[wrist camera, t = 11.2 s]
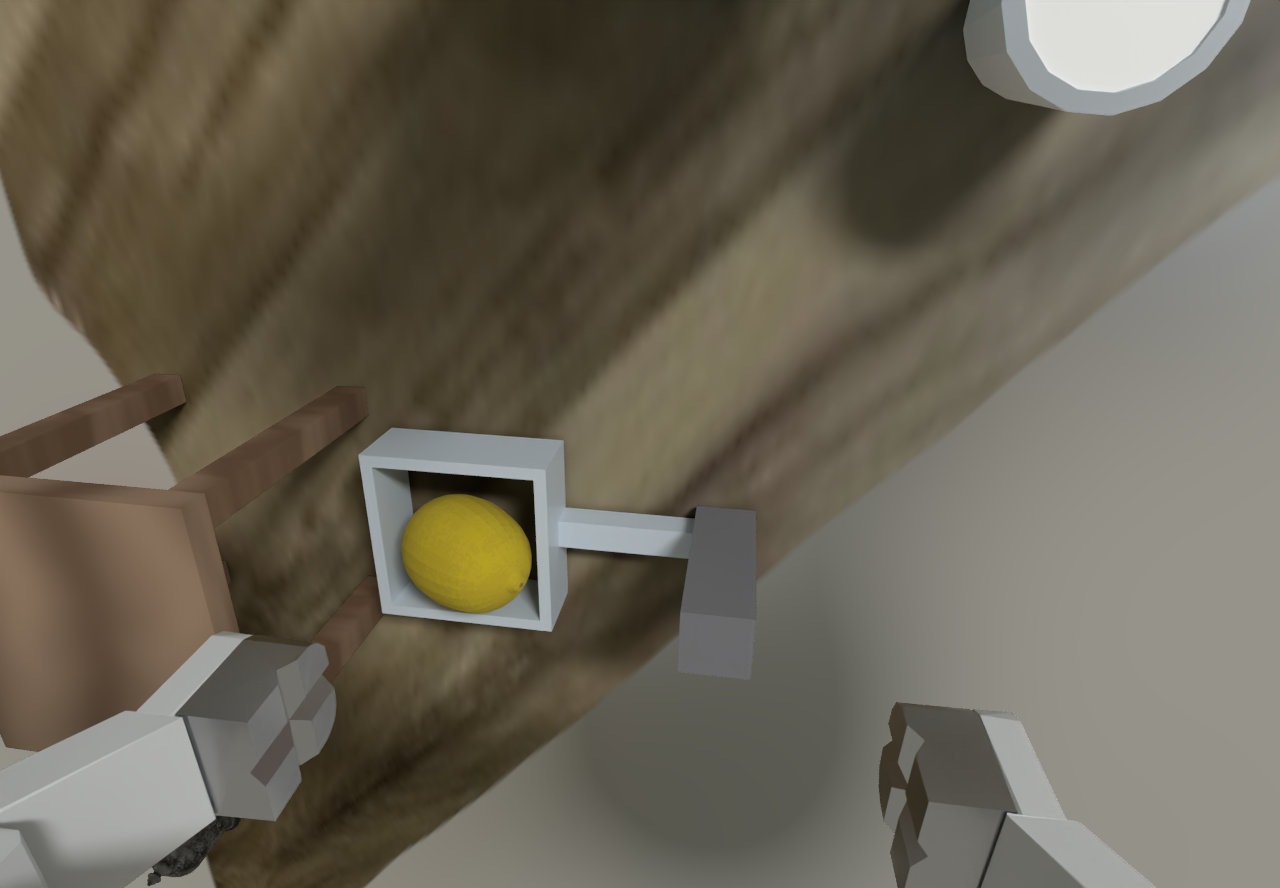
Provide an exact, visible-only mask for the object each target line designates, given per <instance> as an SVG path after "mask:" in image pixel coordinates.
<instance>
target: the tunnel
mask: <svg viewBox="0 0 1280 888" xmlns="http://www.w3.org/2000/svg"><path fill="white" fill-rule="evenodd" d="M185 402H187V401H186V397H185V393H184V389H183V385H182V381H181V377H180V375H165V374H153V375H150V376H148V377H146V378H143V379H141V380H138V381H136V382H133V383H131V384H128V385H126V386H123V387H121V388H118V389H116V390H114V391H111V392H109V393H106V394H104V395H101V396H99V397H97V398H94V399H92V400H89V401H86V402H84V403H82V404H79V405H77V406H74V407H72V408H69V409H67V410H64V411H62V412H59V413H57V414H54V415H52V416H49V417H47V418H45V419H42V420H40V421H37V422H35V423H32V424H30V425H27V426H25V427H22V428H20V429H17V430H15V431H13V432H10V433H8V434H5V435H3V436H0V734H1V737H2V739H3V741H4V743H5V746H6V747H9V748H15V749H22V750H30V751H37V752H40V751H42V750H44V749H46V748H48V747H50V746H52V745H54V744H56V743H59V742H61V741H63V740H65V739H67V738H69V737H71V736H73V735H75V734H77V733H80V732H82V731H84V730H86V729H88V728H90V727H92V726H94V725H96V724H98V723H101V722H103V721H105V720H107V719H109V718H111V717H113V716H115V715H117V714H119V713H122V712H124V711H135V712H136V711H137V710H138V709H139V708H140V707H141V706H142V705H143V704H144V703H145V702H146V701H147V700H148V699H149V698H150V697H151V696H152V695H153V694H154V693H155V692H156V691H157V690H158V689H159V688H160V687H161V686H162V685H163V684H164V683H165V682H166V681H167V680H168V679H169V678H170V677H171V676H172V675H173V674H174V673H175V672H176V671H177V670H178V669H179V668H180V667H181V666H182V665H183V664H184V663H185V662H186V661H187V660H188V659H189V658H190V657H191V656H192V655H193V654H194V653H195V652H196V651H197V650H198V649H199V648H200V647H201V646H202V645H203V644H204V643H205V642H206V641H207V640H208V639H209V638H210V637H211V636H212V635H214V634H217V633H219V632H222V631H227V632H234V633H240V632H239V628H238V624H237V620H236V616H235V612H234V608H233V604H232V600H231V596H230V592H229V588H228V585H229V584H230V583H231V579H230V575H229V571H228V567H227V563H226V561H222V560H221V556H220V552H219V548H218V544H217V540H216V536H215V532H214V528H216V527H217V526H218V525H220V524H221V523H223V522H224V521H225V520H227V519H228V518H229V517H231V516H232V515H233V514H235V513H236V512H237V511H239V510H240V509H242V508H243V507H244V506H246V505H247V504H248V503H250V502H251V501H252V500H254V499H255V498H256V497H258V496H259V495H261V494H262V493H263V492H265V491H266V490H267V489H269V488H270V487H271V486H273V485H274V484H275V483H277V482H278V481H280V480H281V479H282V478H284V477H285V476H286V475H288V474H289V473H290V472H292V471H293V470H294V469H296V468H297V467H299V466H300V465H301V464H303V463H304V462H305V461H307V460H308V459H309V458H311V457H312V456H313V455H315V454H316V453H318V452H319V451H320V450H322V449H323V448H324V447H326V446H327V445H328V444H330V443H331V442H332V441H334V440H335V439H337V438H338V437H339V436H341V435H342V434H343V433H345V432H346V431H347V430H349V429H350V428H351V427H353V426H354V425H356V424H357V423H358V422H360V421H361V420H362V419H364V418H365V417H366V416H368V408H367V401H366V394H365V388H359V387H344V386H337V387H335V388H334V389H332V390H330V391H329V392H327V393H325V394H324V395H322V396H321V397H319V398H317V399H316V400H314V401H312V402H311V403H309V404H307V405H306V406H304V407H303V408H301V409H299V410H298V411H296V412H294V413H293V414H291V415H289V416H288V417H286V418H285V419H283V420H281V421H280V422H278V423H276V424H275V425H273V426H272V427H270V428H268V429H267V430H265V431H263V432H262V433H260V434H258V435H257V436H255V437H254V438H252V439H250V440H249V441H247V442H245V443H244V444H242V445H241V446H239V447H237V448H236V449H234V450H232V451H231V452H229V453H227V454H226V455H224V456H223V457H221V458H219V459H218V460H216V461H214V462H213V463H211V464H210V465H208V466H206V467H205V468H203V469H201V470H200V471H198V472H196V473H195V474H193V475H192V476H190V477H188V478H187V479H185V480H183V481H182V482H180V483H179V484H177V485H175V486H174V487H172V488H170V489H169V490H160V489H149V488H138V487H127V486H115V485H104V484H93V483H82V482H71V481H59V480H48V479H37V478H28V477H30V476H32V475H34V474H36V473H38V472H41V471H43V470H45V469H47V468H49V467H51V466H53V465H55V464H57V463H59V462H62V461H64V460H66V459H68V458H70V457H72V456H74V455H76V454H78V453H81V452H83V451H85V450H87V449H89V448H91V447H93V446H95V445H97V444H99V443H101V442H104V441H105V440H108V439H110V438H112V437H114V436H116V435H118V434H120V433H122V432H124V431H127V430H129V429H131V428H133V427H135V426H137V425H139V424H141V423H143V422H145V421H147V420H150V419H152V418H154V417H156V416H158V415H160V414H162V413H164V412H166V411H168V410H171V409H173V408H175V407H177V406H179V405H181V404H183V403H185ZM383 615H384V613H382V607H381V601H380V594H379V588H378V581H377V577H373V576H367V577H366V578H365V579H364V581H363V582H362V583H361V584H360V585H359V586H358V587H357V589H356V590H355V591H354V592H353V593H352V594H351V596H350V597H349V598H348V599H347V600H346V601H345V602H344V604H343V605H342V606H341V607H340V608H339V609H338V610H337V612H336V613H335V614H334V615H333V616H332V617H331V619H330V620H329V621H328V622H327V623H326V624H325V625H324V627H323V628H322V629H321V630H320V631H319V632H318V633H317V635H316V636H315V637H314V638H313V639H312V640H311V642H316V643H319V644H321V645H323V646H325V650H326V654H327V657H328V661H329V665H328V666H327V668H326V669H325V670H324V672H323V673H322V675H323V676H324V677H325V678H326V679H327V681H328V682H329V683H330V684H331V682H332V681H333V680H334V679H335V677H336V676H337V675H338V673H339V672H340V671H341V669H342V668H343V667H344V665H345V664H346V663H347V662H348V660H349V659H350V658H351V656H352V655H353V654H354V652H355V651H356V650H357V649H358V647H359V646H360V645H361V643H362V642H363V641H364V639H365V638H366V637H367V636H368V634H369V633H370V632H371V630H372V629H373V628H374V626H375V625H376V624H377V622H378V621H379V620H380V619H381V617H382V616H383Z"/></svg>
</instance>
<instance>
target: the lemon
mask: <svg viewBox="0 0 1280 888" xmlns="http://www.w3.org/2000/svg"><path fill="white" fill-rule="evenodd" d="M401 555H402V560H403V564H404V567H405V570H406V572H407V573H408V575H409V577H410V579H411V580H412V582H413V583H414V584H415V585H416V586H417V588H419V589H420V590H421V591H422V592H423V593H424V594H426V595H427V596H428V597H429V598H431V599H432V600H433V601H435V602H437V603H439V604H441V605H443V606H446V607H448V608H451V609H455V610H458V611H462V612H466V613H486V612H491V611H494V610H496V609H499V608H502V607H503V606H505V605H506V604H508V603H509V602H511V601H512V600H513V599H514V598H515V597H516V596H518V594H519V593H520V592H521V590H522V589H523V588H524V586H525V584H526V582H527V580H528V577H529V575H530V570H531V563H532V554H531V548H530V544H529V541H528V538H527V537H526V535H525V533H524V531H523V530H522V528H521V527H520V526H519V524H518V523H517V522H516V521H515V520H514V519H513V518H512V517H511V516H510V515H508V514H507V513H506V512H505V511H503V510H502V509H501V508H500V507H498V506H497V505H495V504H493V503H492V502H490V501H487V500H485V499H482V498H478V497H475V496H471V495H466V494H452V495H444V496H441V497H438V498H435V499H433V500H431V501H429V502H428V503H426V504H424V505H423V506H422V507H421V508H419V509H418V510H417V511H416V512H415V513H414V515H413V516H412V517H411V518H410V520H409V522H408V523H407V525H406V527H405V530H404V533H403V537H402V543H401Z"/></svg>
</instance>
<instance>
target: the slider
mask: <svg viewBox="0 0 1280 888" xmlns="http://www.w3.org/2000/svg"><path fill="white" fill-rule="evenodd" d="M358 456H359V463H360V469H361V476H362V482H363V489H364V495H365V502H366V509H367V515H368V522H369V528H370V535H371V541H372V548H373V555H374V561H375V568H376V574H377V581H378V588H379V594H380V601H381V607H382V613H384V614H394V615H403V616H412V617H421V618H431V619H440V620H449V621H458V622H467V623H477V624H486V625H495V626H504V627H514V628H523V629H532V630H541V631H550V632H552V630H553V627H554V625H555V622H556V620H557V618H558V615H559V613H560V610H561V608H562V605H563V603H564V600H565V598H566V595H567V593H568V581H567V548H578V549H588V550H599V551H610V552H621V553H631V554H642V555H653V556H664V557H674V558H685V559H689V560H688V566H687V573H686V579H685V585H684V592H683V598H682V605H681V611H680V630H679V651H678V672H686V673H694V674H702V675H712V676H721V677H729V678H738V679H747V680H750V679H751V669H752V658H753V648H754V638H755V628H756V511H752V510H740V509H728V508H716V507H704V506H697V508H696V515H695V519H693V518H682V517H670V516H659V515H647V514H635V513H624V512H612V511H600V510H589V509H577V508H566V507H565V472H564V440H551V439H537V438H524V437H510V436H497V435H483V434H470V433H456V432H443V431H430V430H416V429H403V428H391V429H389V430H388V431H387V432H386V433H385V434H383V435H382V436H381V437H380V438H378V439H377V440H376V441H375V442H374V443H372V444H371V445H370V446H369V447H367V448H366V449H365V450H364V451H363V452H361V453H360V454H359V455H358ZM408 470H411V471H424V472H436V473H448V474H460V475H473V476H485V477H497V478H509V479H521V480H533V482H534V504H535V525H536V547H537V568H538V580H531V579H528V580H527V582H526V584H525V586H524V588H523V589H522V590H521V592H520V593H519V594H518V596H516V597H515V598H514V599H513V600H512V601H511V602H509V603H508V604H506V605H505V606H503V607H502V608H499V609H496V610H494V611H491V612H486V613H466V612H462V611H458V610H455V609H451V608H448V607H446V606H443V605H441V604H439V603H437V602H435V601H433V600H432V599H431V598H429V597H428V596H427V595H426V594H424V593H423V592H422V591H421V590H420V589H419V588H417V586H416V585H415V584H414V583H413V582H412V580H411V579H410V577H409V575H408V573H407V572H406V570H405V567H404V564H403V560H402V555H401V543H402V537H403V533H404V530H405V527H406V525H407V523H408V522H409V520H410V518H411V517H412V516H413V509H412V501H411V493H410V485H409V477H408Z"/></svg>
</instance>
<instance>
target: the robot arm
mask: <svg viewBox="0 0 1280 888" xmlns="http://www.w3.org/2000/svg"><path fill="white" fill-rule="evenodd" d="M328 665H329V661H328V657H327V654H326V650H325V646H323V645H321V644H319V643H316V642H309V641H301V640H294V639H286V638H278V637H271V636H263V635H249V634H241V633H234V632H227V631H222V632H219V633H217V634H214V635H212V636H211V637H210V638H209V639H208V640H207V641H206V642H205V643H204V644H203V645H202V646H201V647H200V648H199V649H198V650H197V651H196V652H195V653H194V654H193V655H192V656H191V657H190V658H189V659H188V660H187V661H186V662H185V663H184V664H183V665H182V666H181V667H180V668H179V669H178V670H177V671H176V672H175V673H174V674H173V675H172V676H171V677H170V678H169V679H168V680H167V681H166V682H165V683H164V684H163V685H162V686H161V687H160V688H159V689H158V690H157V691H156V692H155V693H154V694H153V695H152V696H151V697H150V698H149V699H148V700H147V701H146V702H145V703H144V704H143V705H142V706H141V707H140V708H139V709H138V710H137V711H136V712H135V711H124V712H122V713H119V714H117V715H115V716H113V717H111V718H109V719H107V720H105V721H103V722H101V723H98V724H96V725H94V726H92V727H90V728H88V729H86V730H84V731H82V732H80V733H77V734H75V735H73V736H71V737H69V738H67V739H65V740H63V741H61V742H59V743H56V744H54V745H52V746H50V747H48V748H46V749H44V750H42V751H40V752H38V753H36V754H33V755H31V756H29V757H27V758H25V759H23V760H21V761H19V762H16V763H14V764H12V765H10V766H8V767H6V768H4V769H2V770H0V888H124V887H125V886H127V885H128V884H129V883H131V882H132V881H133V880H135V879H136V878H137V877H139V876H140V875H141V874H143V873H144V872H145V871H147V870H148V869H149V868H151V867H152V866H153V865H155V864H156V863H158V862H159V861H160V860H162V859H163V858H164V857H166V856H167V855H168V854H170V853H171V852H172V851H174V850H175V849H176V848H178V847H179V846H180V845H182V844H183V843H184V842H186V841H187V840H188V839H190V838H191V837H192V836H194V835H195V834H196V833H198V832H199V831H200V830H202V829H203V828H204V827H206V826H207V825H208V824H210V823H211V822H212V821H214V820H215V819H216V816H215V815H218V816H228V817H238V818H248V819H259V820H269V821H276V819H277V818H278V816H279V815H280V813H281V812H282V810H283V808H284V807H285V805H286V804H287V802H288V801H289V799H290V798H291V796H292V795H293V793H294V791H295V790H296V788H297V787H298V785H299V784H300V782H301V781H302V776H301V769H300V765H302V764H303V763H305V762H306V761H308V760H310V759H311V758H313V757H314V756H316V755H317V754H319V753H320V751H321V749H322V748H323V746H324V744H325V743H326V741H327V739H328V738H329V736H330V733H331V729H332V726H333V723H334V720H335V717H336V695H335V690H334V687H333V686H332V685H331V684H330V683H329V682H328V681H327V679H326V678H325V677H324V676H323V675H322V673H323V672H324V670H325V669H326V668H327V666H328ZM889 728H890V732H891V736H892V741H891V742H890V743H888V744H887V745H886V746H884V747H883V750H882V755H881V760H880V765H879V795H880V804H881V809H882V815H883V820H884V822H885V823H886V824H887V825H888V826H889V827H890V828H891V829H892V831H893V832H894V833H895V835H894V839H893V843H892V847H891V851H890V854H891V859H892V863H893V868H894V873H895V877H896V882H897V887H898V888H1156V887H1155V886H1154V885H1153V884H1152V883H1151V882H1149V881H1148V880H1147V879H1146V878H1145V877H1144V876H1142V875H1141V874H1140V873H1139V872H1138V871H1137V870H1135V869H1134V868H1133V867H1132V866H1130V865H1129V864H1128V863H1127V862H1126V861H1125V860H1123V859H1122V858H1121V857H1120V856H1119V855H1118V854H1117V853H1115V852H1114V851H1113V850H1112V849H1111V848H1110V847H1108V846H1107V845H1106V844H1105V843H1104V842H1102V841H1101V840H1100V839H1099V838H1098V837H1097V836H1095V835H1094V834H1093V833H1092V832H1091V831H1090V830H1088V829H1087V828H1086V827H1085V826H1084V825H1083V824H1081V823H1080V822H1077V821H1070V820H1066V818H1065V815H1064V813H1063V811H1062V809H1061V807H1060V805H1059V802H1058V800H1057V799H1056V796H1055V794H1054V792H1053V790H1052V788H1051V786H1050V783H1049V782H1048V779H1047V777H1046V775H1045V773H1044V771H1043V769H1042V766H1041V764H1040V762H1039V760H1038V758H1037V756H1036V754H1035V752H1034V749H1033V747H1032V745H1031V743H1030V741H1029V739H1028V737H1027V734H1026V732H1025V731H1024V728H1023V726H1022V724H1021V722H1020V720H1019V718H1018V717H1017V716H1015V715H1014V714H1013V713H1009V712H999V711H988V710H976V709H973V710H970V709H962V708H952V707H941V706H930V705H919V704H910V703H899V702H896V703H895V705H894V707H893V708H892V711H891V716H890V719H889Z"/></svg>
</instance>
